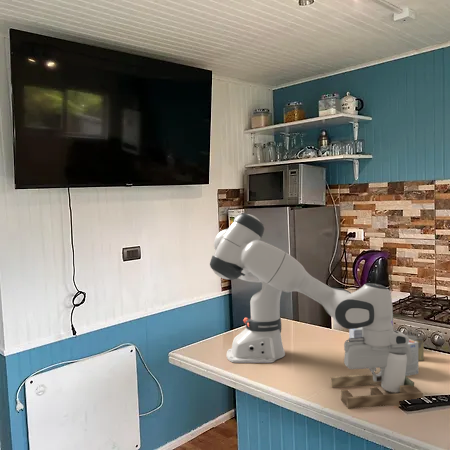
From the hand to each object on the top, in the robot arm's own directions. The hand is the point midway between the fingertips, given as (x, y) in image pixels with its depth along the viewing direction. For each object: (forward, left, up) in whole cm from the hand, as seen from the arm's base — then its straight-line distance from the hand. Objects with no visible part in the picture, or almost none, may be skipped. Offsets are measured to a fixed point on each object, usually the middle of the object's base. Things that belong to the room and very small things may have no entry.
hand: (378, 380), depth 143 cm
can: (+4, 0, -3) cm, 5 cm away
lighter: (+24, +25, -3) cm, 35 cm away
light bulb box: (+14, +15, -3) cm, 20 cm away
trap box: (-2, -2, -3) cm, 4 cm away
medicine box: (+8, +39, -3) cm, 40 cm away
